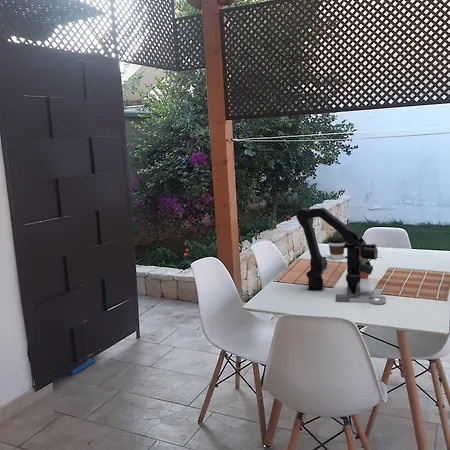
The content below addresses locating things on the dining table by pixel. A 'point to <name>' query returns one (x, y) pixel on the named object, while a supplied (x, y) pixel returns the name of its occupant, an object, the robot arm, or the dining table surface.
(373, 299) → the gray handled tool
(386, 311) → the dining table surface
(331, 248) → the coffee cup
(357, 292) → the gray block
